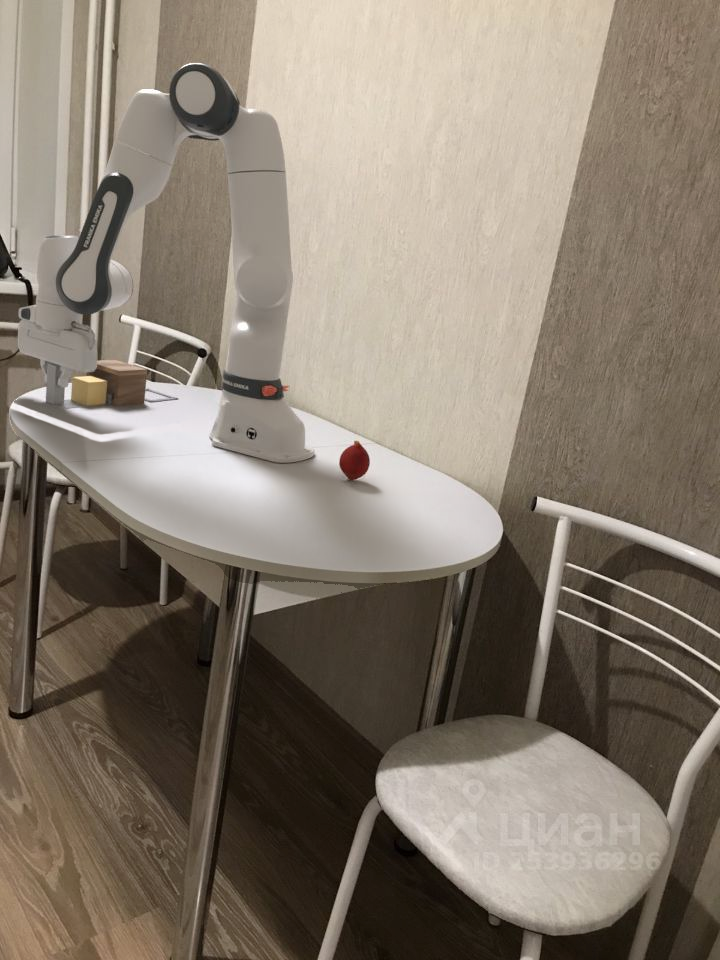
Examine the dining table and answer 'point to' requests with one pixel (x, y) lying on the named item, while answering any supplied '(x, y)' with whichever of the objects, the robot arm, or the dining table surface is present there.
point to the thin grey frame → (160, 394)
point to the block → (89, 390)
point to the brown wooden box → (122, 381)
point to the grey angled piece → (62, 390)
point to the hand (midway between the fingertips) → (55, 384)
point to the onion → (354, 461)
